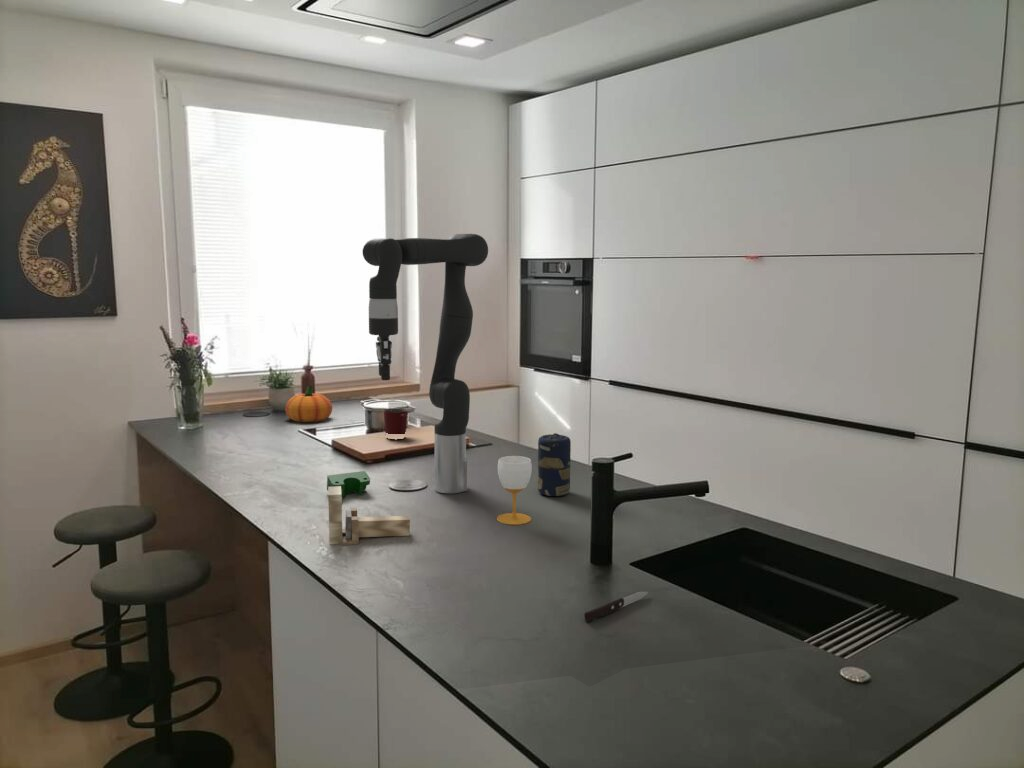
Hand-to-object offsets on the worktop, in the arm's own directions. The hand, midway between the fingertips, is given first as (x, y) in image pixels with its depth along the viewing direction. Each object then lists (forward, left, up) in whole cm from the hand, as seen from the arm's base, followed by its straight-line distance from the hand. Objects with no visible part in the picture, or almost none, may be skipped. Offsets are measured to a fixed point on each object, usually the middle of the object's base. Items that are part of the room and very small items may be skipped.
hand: (384, 377), depth 194 cm
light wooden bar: (+3, +20, -36) cm, 41 cm away
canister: (-49, -5, -36) cm, 61 cm away
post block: (+12, +20, -36) cm, 43 cm away
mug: (-11, -86, -36) cm, 94 cm away
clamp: (+9, -16, -36) cm, 41 cm away
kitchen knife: (-39, +70, -36) cm, 88 cm away
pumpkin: (+23, -131, -36) cm, 138 cm away
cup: (-32, +15, -36) cm, 51 cm away
